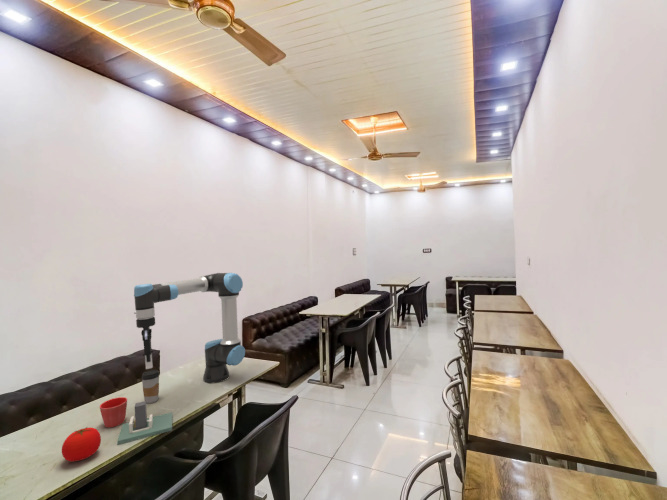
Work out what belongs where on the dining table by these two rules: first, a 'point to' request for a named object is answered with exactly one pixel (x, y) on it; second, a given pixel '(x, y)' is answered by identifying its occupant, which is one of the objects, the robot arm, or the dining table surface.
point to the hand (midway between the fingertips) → (149, 368)
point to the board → (153, 428)
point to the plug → (140, 415)
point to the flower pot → (114, 411)
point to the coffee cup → (150, 386)
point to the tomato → (81, 444)
